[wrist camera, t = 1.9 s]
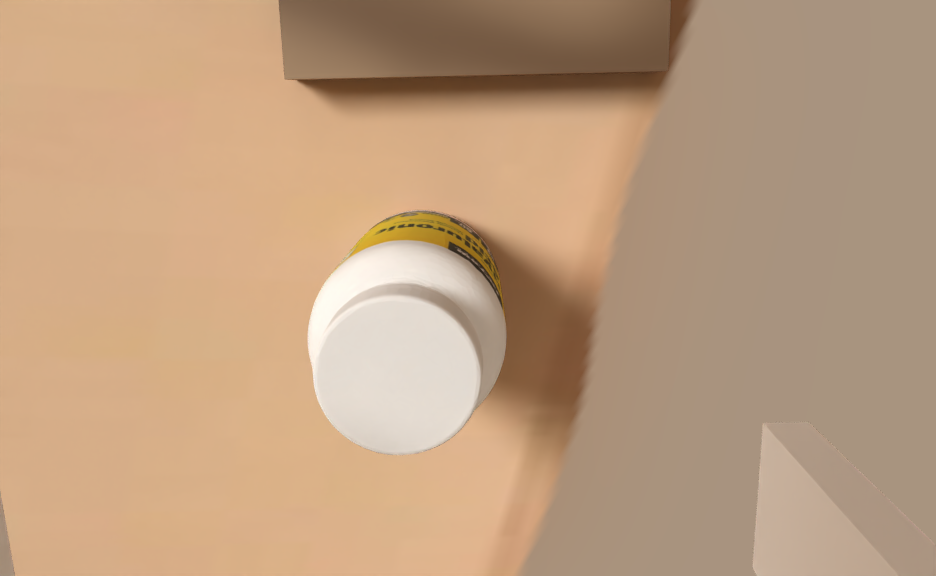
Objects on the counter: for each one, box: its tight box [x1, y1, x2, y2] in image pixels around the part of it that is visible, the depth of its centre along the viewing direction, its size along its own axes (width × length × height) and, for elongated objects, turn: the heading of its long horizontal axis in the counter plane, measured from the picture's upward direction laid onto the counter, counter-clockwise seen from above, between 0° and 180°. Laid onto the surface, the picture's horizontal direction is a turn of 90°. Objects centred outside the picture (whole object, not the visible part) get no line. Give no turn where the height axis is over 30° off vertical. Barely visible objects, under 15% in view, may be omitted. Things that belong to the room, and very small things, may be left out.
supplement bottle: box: [308, 210, 507, 455], centre depth 23 cm, size 5×5×10 cm
